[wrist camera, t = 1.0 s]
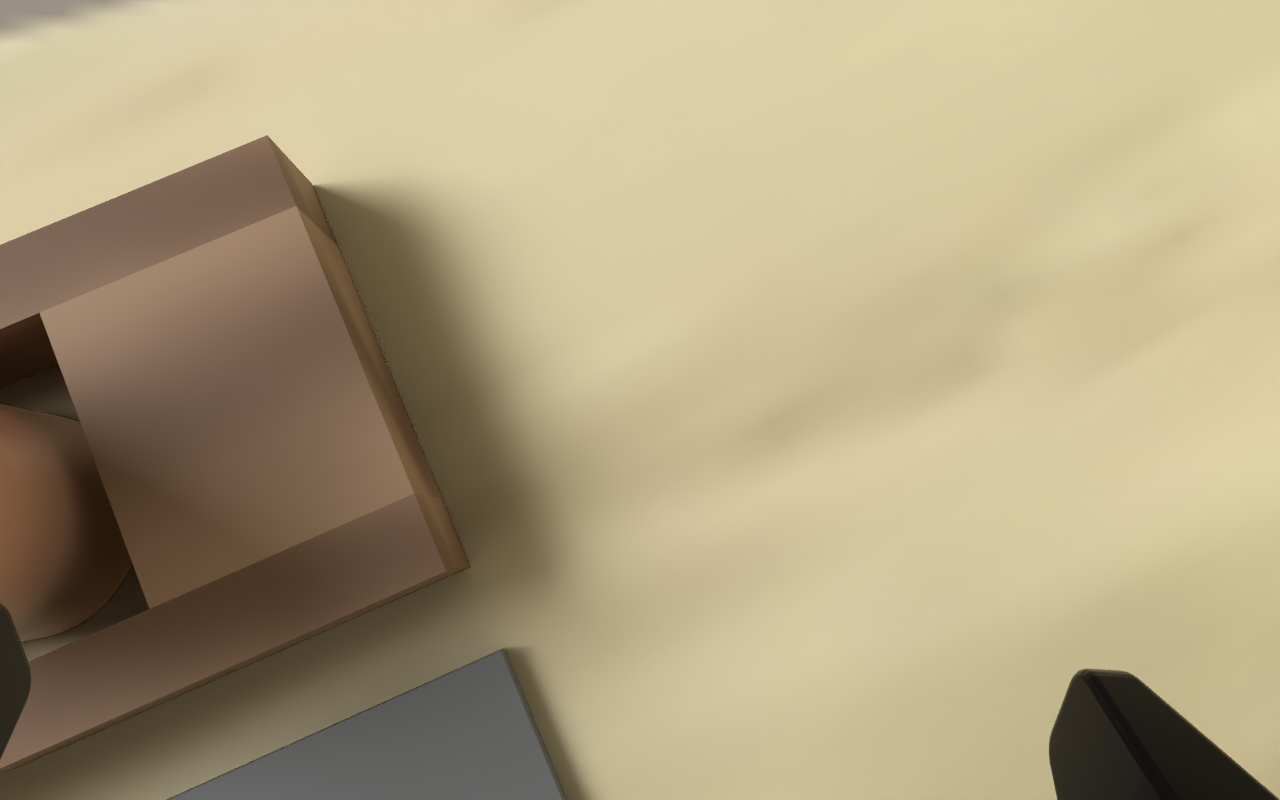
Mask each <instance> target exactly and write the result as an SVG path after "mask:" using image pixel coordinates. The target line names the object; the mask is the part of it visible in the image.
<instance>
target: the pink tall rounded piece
mask: <svg viewBox="0 0 1280 800" xmlns="http://www.w3.org/2000/svg"><path fill="white" fill-rule="evenodd" d="M131 564H132V561H131V558H130V555H129V553H128V550H127V547H126V545H125V542H124V539H123V537H122V534H121V531H120V528H119V526H118V523H117V520H116V518H115V515H114V512H113V510H112V507H111V504H110V501H109V499H108V496H107V493H106V491H105V488H104V485H103V483H102V480H101V477H100V474H99V472H98V469H97V466H96V464H95V461H94V458H93V456H92V453H91V450H90V448H89V445H88V442H87V439H86V437H85V434H84V431H83V429H82V426H81V423H79V422H77V421H74V420H71V419H68V418H65V417H61V416H56V415H51V414H46V413H41V412H36V411H32V410H27V409H22V408H17V407H12V406H7V405H3V404H0V603H1V604H2V605H3V606H5V607H6V608H7V609H8V611H9V612H10V614H11V617H12V620H13V622H14V625H15V628H16V631H17V633H18V636H19V639H20V642H22V641H28V640H34V639H39V638H43V637H48V636H52V635H55V634H57V633H60V632H63V631H66V630H68V629H70V628H72V627H74V626H76V625H78V624H79V623H81V622H82V621H84V620H85V619H87V618H88V617H90V616H91V615H93V614H94V613H95V612H96V611H97V610H98V609H100V608H101V607H102V606H103V605H104V604H105V603H106V602H107V601H108V600H109V599H110V597H111V596H112V595H113V594H114V593H115V592H116V590H117V589H118V587H119V586H120V584H121V583H122V581H123V580H124V578H125V576H126V574H127V572H128V570H129V569H130V567H131Z"/></svg>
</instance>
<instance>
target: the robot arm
mask: <svg viewBox="0 0 1280 800" xmlns="http://www.w3.org/2000/svg"><path fill="white" fill-rule="evenodd" d="M30 688H31V670H30V666H29V664H28V661H27V658H26V655H25V653H24V650H23V647H22V644H21V642H20V639H19V636H18V633H17V631H16V628H15V625H14V622H13V620H12V617H11V614H10V612H9V611H8V609H7V608H6V607H5V606H3V605H2V604H1V603H0V760H1V757H2V755H3V753H4V751H5V748H6V746H7V744H8V742H9V740H10V737H11V735H12V733H13V731H14V728H15V726H16V724H17V722H18V720H19V717H20V715H21V713H22V711H23V709H24V706H25V704H26V702H27V699H28V696H29V692H30ZM1049 759H1050V766H1051V771H1052V775H1053V780H1054V785H1055V790H1056V795H1057V800H1279V799H1278V798H1277V797H1276V796H1275V795H1274V794H1272V793H1271V792H1270V791H1269V790H1268V789H1267V788H1265V787H1264V786H1263V785H1262V784H1261V783H1260V782H1258V781H1257V780H1256V779H1255V778H1254V777H1253V776H1251V775H1250V774H1249V773H1248V772H1247V771H1246V770H1244V769H1243V768H1242V767H1241V766H1240V765H1239V764H1237V763H1236V762H1235V761H1234V760H1233V759H1232V758H1230V757H1229V756H1228V755H1227V754H1226V753H1225V752H1223V751H1222V750H1221V749H1220V748H1219V747H1218V746H1216V745H1215V744H1214V743H1213V742H1212V741H1211V740H1209V739H1208V738H1207V737H1206V736H1205V735H1204V734H1202V733H1201V732H1200V731H1199V730H1198V729H1197V728H1195V727H1194V726H1193V725H1192V724H1191V723H1190V722H1188V721H1187V720H1186V719H1185V718H1184V717H1183V716H1181V715H1180V714H1179V713H1178V712H1177V711H1176V710H1174V709H1173V708H1172V707H1171V706H1170V705H1169V704H1167V703H1166V702H1165V701H1164V700H1163V699H1162V698H1160V697H1159V696H1158V695H1157V694H1156V693H1155V692H1153V691H1152V690H1151V689H1150V688H1149V687H1148V686H1146V685H1145V684H1144V683H1143V682H1142V681H1141V680H1139V679H1138V678H1137V677H1135V676H1134V675H1132V674H1130V673H1128V672H1124V671H1116V670H1100V669H1083V670H1080V671H1078V672H1077V673H1076V674H1075V675H1074V676H1073V678H1072V680H1071V682H1070V684H1069V687H1068V690H1067V692H1066V695H1065V698H1064V700H1063V703H1062V705H1061V708H1060V711H1059V713H1058V716H1057V719H1056V721H1055V724H1054V727H1053V729H1052V732H1051V736H1050V742H1049Z"/></svg>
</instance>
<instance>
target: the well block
mask: <svg viewBox="0 0 1280 800" xmlns="http://www.w3.org/2000/svg"><path fill="white" fill-rule="evenodd" d="M57 364H59V367H60V369H61V372H62V375H63V377H64V380H65V383H66V385H67V388H68V391H69V394H70V396H71V399H72V402H73V404H74V407H75V410H76V412H77V415H78V418H79V421H80V423H81V426H82V429H83V431H84V434H85V437H86V439H87V442H88V445H89V448H90V450H91V453H92V456H93V458H94V461H95V464H96V466H97V469H98V472H99V474H100V477H101V480H102V483H103V485H104V488H105V491H106V493H107V496H108V499H109V501H110V504H111V507H112V510H113V512H114V515H115V518H116V520H117V523H118V526H119V528H120V531H121V534H122V537H123V539H124V542H125V545H126V547H127V550H128V553H129V555H130V558H131V561H132V564H133V566H134V569H135V572H136V574H137V577H138V580H139V582H140V585H141V588H142V590H143V593H144V596H145V599H146V601H147V604H148V607H149V609H148V610H146V611H144V612H142V613H139V614H137V615H135V616H132V617H130V618H128V619H126V620H123V621H121V622H119V623H116V624H114V625H112V626H110V627H107V628H105V629H103V630H100V631H98V632H96V633H94V634H91V635H89V636H87V637H84V638H82V639H80V640H78V641H75V642H73V643H71V644H68V645H66V646H64V647H61V648H59V649H57V650H55V651H52V652H50V653H48V654H45V655H43V656H41V657H39V658H36V659H34V660H32V661H29V662H28V664H29V666H30V670H31V688H30V692H29V696H28V699H27V702H26V704H25V706H24V709H23V711H22V713H21V715H20V717H19V720H18V722H17V724H16V726H15V728H14V731H13V733H12V735H11V737H10V740H9V742H8V744H7V746H6V748H5V751H4V753H3V755H2V757H1V760H0V775H1V774H3V773H5V772H8V771H10V770H12V769H14V768H17V767H19V766H21V765H23V764H26V763H28V762H30V761H32V760H35V759H37V758H39V757H41V756H44V755H46V754H48V753H50V752H53V751H55V750H57V749H59V748H62V747H64V746H66V745H69V744H71V743H73V742H75V741H78V740H80V739H82V738H84V737H87V736H89V735H91V734H93V733H96V732H98V731H100V730H102V729H105V728H107V727H109V726H111V725H114V724H116V723H118V722H120V721H123V720H125V719H127V718H129V717H132V716H134V715H136V714H139V713H141V712H143V711H145V710H148V709H150V708H152V707H154V706H157V705H159V704H161V703H163V702H166V701H168V700H170V699H172V698H175V697H177V696H179V695H181V694H184V693H186V692H188V691H190V690H193V689H195V688H197V687H199V686H202V685H204V684H206V683H208V682H211V681H213V680H215V679H218V678H220V677H222V676H224V675H227V674H229V673H231V672H233V671H236V670H238V669H240V668H242V667H245V666H247V665H249V664H251V663H254V662H256V661H258V660H260V659H263V658H265V657H267V656H269V655H272V654H274V653H276V652H278V651H281V650H283V649H285V648H287V647H290V646H292V645H294V644H297V643H299V642H301V641H303V640H306V639H308V638H310V637H312V636H315V635H317V634H319V633H321V632H324V631H326V630H328V629H330V628H333V627H335V626H337V625H339V624H342V623H344V622H346V621H348V620H351V619H353V618H355V617H357V616H360V615H362V614H364V613H366V612H369V611H371V610H373V609H376V608H378V607H380V606H382V605H385V604H387V603H389V602H391V601H394V600H396V599H398V598H400V597H403V596H405V595H407V594H409V593H412V592H414V591H416V590H418V589H421V588H423V587H425V586H427V585H430V584H432V583H434V582H436V581H439V580H441V579H443V578H446V577H448V576H450V575H452V574H455V573H457V572H459V571H461V570H464V569H466V568H468V567H470V564H469V561H468V559H467V557H466V554H465V552H464V549H463V547H462V545H461V542H460V540H459V537H458V535H457V533H456V530H455V528H454V525H453V523H452V520H451V518H450V516H449V513H448V511H447V508H446V506H445V504H444V501H443V499H442V496H441V494H440V491H439V489H438V487H437V484H436V482H435V479H434V477H433V475H432V472H431V470H430V467H429V465H428V463H427V460H426V458H425V455H424V453H423V450H422V448H421V446H420V443H419V441H418V438H417V436H416V434H415V431H414V429H413V426H412V424H411V421H410V419H409V417H408V414H407V412H406V409H405V407H404V405H403V402H402V400H401V397H400V395H399V392H398V390H397V388H396V385H395V383H394V380H393V378H392V376H391V373H390V371H389V368H388V366H387V364H386V361H385V359H384V356H383V354H382V351H381V349H380V347H379V344H378V342H377V339H376V337H375V335H374V332H373V330H372V327H371V325H370V322H369V320H368V318H367V315H366V313H365V310H364V308H363V306H362V303H361V301H360V298H359V296H358V293H357V291H356V289H355V286H354V284H353V281H352V279H351V277H350V274H349V272H348V269H347V267H346V265H345V262H344V260H343V257H342V255H341V252H340V250H339V248H338V245H337V243H336V240H335V238H334V236H333V233H332V231H331V228H330V226H329V223H328V221H327V219H326V216H325V214H324V211H323V209H322V207H321V204H320V202H319V199H318V197H317V195H316V192H315V190H314V187H313V185H312V183H311V182H310V181H309V180H308V179H307V178H306V177H305V176H304V175H303V174H302V173H301V171H300V170H299V169H298V168H297V167H296V166H295V165H294V164H293V163H292V162H291V161H290V160H289V158H288V157H287V156H286V155H285V154H284V153H283V152H282V151H281V150H280V149H279V148H278V146H277V145H276V144H275V143H274V142H273V141H272V140H271V139H270V138H269V137H268V136H264V137H262V138H260V139H257V140H255V141H252V142H250V143H247V144H245V145H242V146H240V147H238V148H235V149H233V150H230V151H228V152H225V153H223V154H221V155H218V156H216V157H213V158H211V159H208V160H206V161H204V162H201V163H199V164H196V165H194V166H191V167H189V168H187V169H184V170H182V171H179V172H177V173H174V174H172V175H169V176H167V177H165V178H162V179H160V180H157V181H155V182H152V183H150V184H148V185H145V186H143V187H140V188H138V189H135V190H133V191H131V192H128V193H126V194H123V195H121V196H118V197H116V198H114V199H111V200H109V201H106V202H104V203H101V204H99V205H97V206H94V207H92V208H89V209H87V210H84V211H82V212H79V213H77V214H75V215H72V216H70V217H67V218H65V219H62V220H60V221H58V222H55V223H53V224H50V225H48V226H45V227H43V228H41V229H38V230H36V231H33V232H31V233H28V234H26V235H24V236H21V237H19V238H16V239H14V240H11V241H9V242H6V243H4V244H2V245H0V388H2V387H4V386H7V385H9V384H11V383H14V382H16V381H19V380H21V379H23V378H26V377H28V376H30V375H33V374H35V373H38V372H40V371H42V370H45V369H47V368H50V367H52V366H54V365H57Z"/></svg>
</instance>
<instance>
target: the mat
mask: <svg viewBox="0 0 1280 800" xmlns="http://www.w3.org/2000/svg"><path fill="white" fill-rule="evenodd" d="M167 800H567V799H566V796H565V794H564V791H563V789H562V786H561V784H560V782H559V779H558V777H557V774H556V772H555V770H554V767H553V765H552V762H551V760H550V758H549V755H548V753H547V750H546V748H545V745H544V743H543V741H542V738H541V736H540V733H539V731H538V729H537V726H536V724H535V721H534V719H533V716H532V714H531V712H530V709H529V707H528V704H527V702H526V700H525V697H524V695H523V692H522V690H521V687H520V685H519V683H518V680H517V678H516V675H515V673H514V671H513V668H512V666H511V663H510V661H509V659H508V656H507V654H506V651H505V649H504V648H503V649H501V650H499V651H496V652H494V653H492V654H490V655H487V656H485V657H483V658H481V659H479V660H476V661H474V662H472V663H470V664H467V665H465V666H463V667H461V668H459V669H456V670H454V671H452V672H450V673H447V674H445V675H443V676H441V677H439V678H436V679H434V680H432V681H430V682H427V683H425V684H423V685H421V686H418V687H416V688H414V689H412V690H410V691H407V692H405V693H403V694H401V695H398V696H396V697H394V698H392V699H390V700H387V701H385V702H383V703H381V704H378V705H376V706H374V707H372V708H369V709H367V710H365V711H363V712H361V713H358V714H356V715H354V716H352V717H349V718H347V719H345V720H343V721H341V722H338V723H336V724H334V725H332V726H329V727H327V728H325V729H323V730H320V731H318V732H316V733H314V734H312V735H309V736H307V737H305V738H303V739H300V740H298V741H296V742H294V743H292V744H289V745H287V746H285V747H283V748H280V749H278V750H276V751H274V752H271V753H269V754H267V755H265V756H263V757H260V758H258V759H256V760H254V761H251V762H249V763H247V764H245V765H243V766H240V767H238V768H236V769H234V770H231V771H229V772H227V773H225V774H222V775H220V776H218V777H216V778H214V779H211V780H209V781H207V782H205V783H202V784H200V785H198V786H196V787H194V788H191V789H189V790H187V791H185V792H182V793H180V794H178V795H176V796H173V797H171V798H169V799H167Z"/></svg>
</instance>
